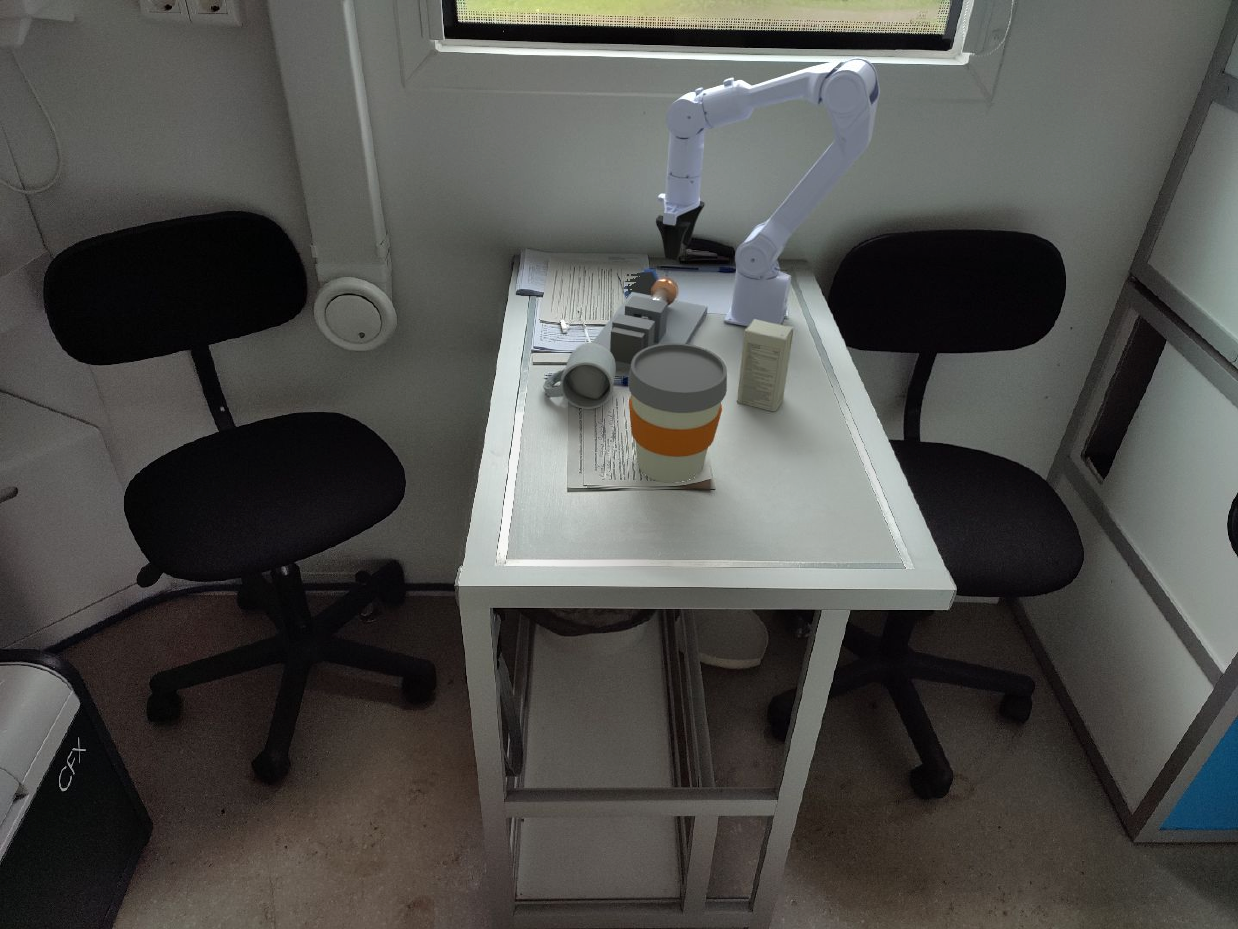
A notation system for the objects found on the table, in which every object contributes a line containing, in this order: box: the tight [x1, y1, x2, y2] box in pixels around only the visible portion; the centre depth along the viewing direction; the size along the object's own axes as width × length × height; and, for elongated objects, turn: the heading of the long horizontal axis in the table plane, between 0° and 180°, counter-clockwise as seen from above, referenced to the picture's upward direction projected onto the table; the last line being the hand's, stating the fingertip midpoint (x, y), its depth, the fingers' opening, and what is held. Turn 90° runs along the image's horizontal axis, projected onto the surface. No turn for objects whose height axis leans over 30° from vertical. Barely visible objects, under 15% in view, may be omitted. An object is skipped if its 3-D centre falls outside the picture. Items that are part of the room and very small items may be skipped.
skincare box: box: [736, 319, 795, 412], centre depth 126 cm, size 6×4×12 cm
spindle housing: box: [591, 292, 708, 373], centre depth 141 cm, size 14×24×7 cm, turn 161°
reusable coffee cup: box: [627, 343, 728, 484], centre depth 111 cm, size 13×13×15 cm
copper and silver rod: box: [637, 276, 680, 320], centre depth 143 cm, size 4×12×4 cm, turn 161°
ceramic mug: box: [542, 342, 617, 410], centre depth 126 cm, size 11×8×8 cm
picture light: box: [559, 317, 593, 343], centre depth 145 cm, size 14×4×2 cm, turn 11°
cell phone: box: [624, 268, 659, 298], centre depth 159 cm, size 7×14×1 cm, turn 9°
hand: (677, 250), depth 149 cm, fingers open, 7 cm apart
